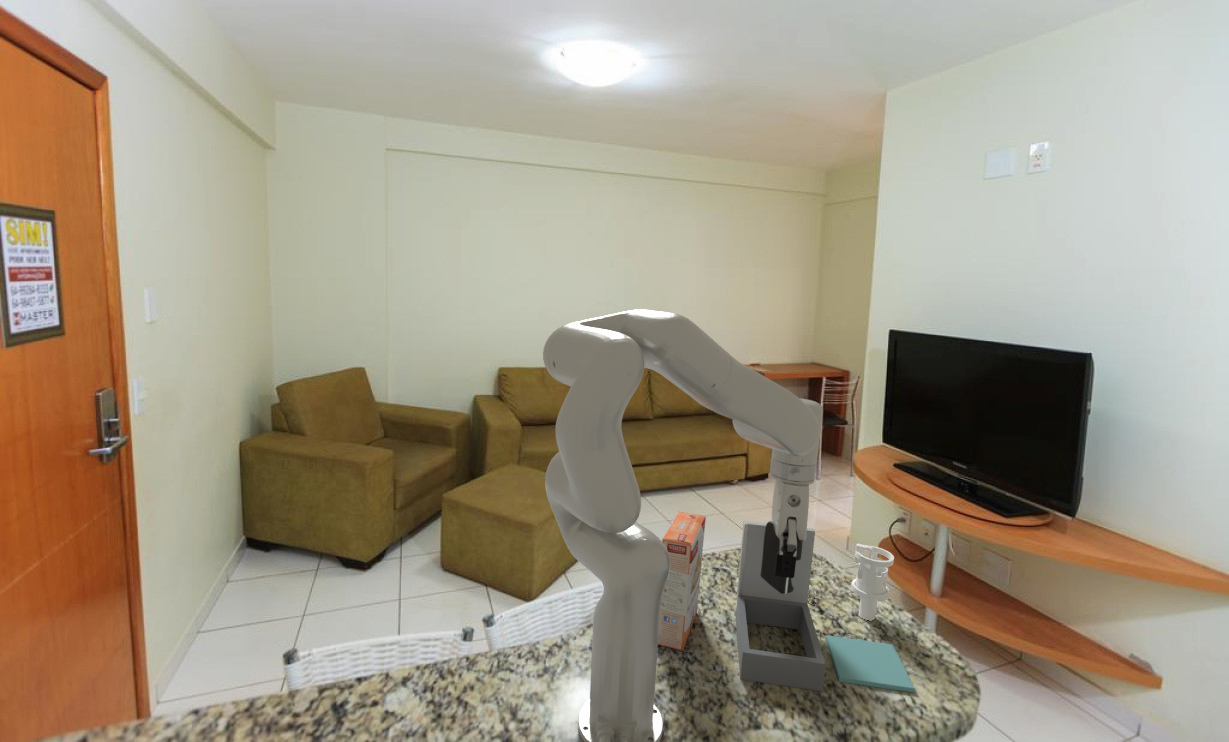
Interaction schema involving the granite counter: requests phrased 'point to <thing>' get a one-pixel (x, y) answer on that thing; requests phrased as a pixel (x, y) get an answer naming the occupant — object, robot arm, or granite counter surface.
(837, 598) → the granite counter surface
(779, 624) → the case
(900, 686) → the mat
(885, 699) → the granite counter surface
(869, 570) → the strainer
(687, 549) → the cracker box
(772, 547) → the battery charger
